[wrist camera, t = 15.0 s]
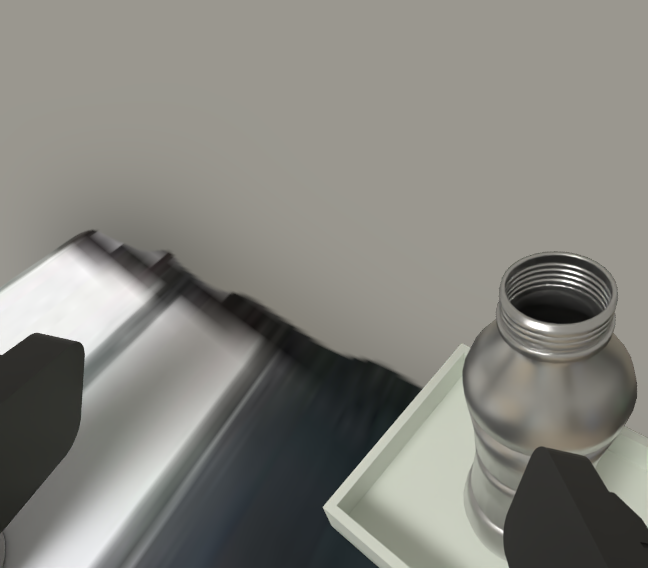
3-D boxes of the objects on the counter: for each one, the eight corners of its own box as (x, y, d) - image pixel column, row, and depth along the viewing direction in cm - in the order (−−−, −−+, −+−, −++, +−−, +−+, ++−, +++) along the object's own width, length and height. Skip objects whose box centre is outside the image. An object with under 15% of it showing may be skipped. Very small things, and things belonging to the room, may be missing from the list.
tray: (332, 526, 34) (322, 507, 32) (462, 367, 41) (461, 343, 39) (625, 784, 24) (639, 781, 22) (739, 516, 30) (758, 494, 28)
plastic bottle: (450, 480, 34) (430, 250, 21) (554, 456, 34) (606, 207, 20) (486, 590, 30) (492, 388, 16) (607, 563, 29) (721, 334, 16)
